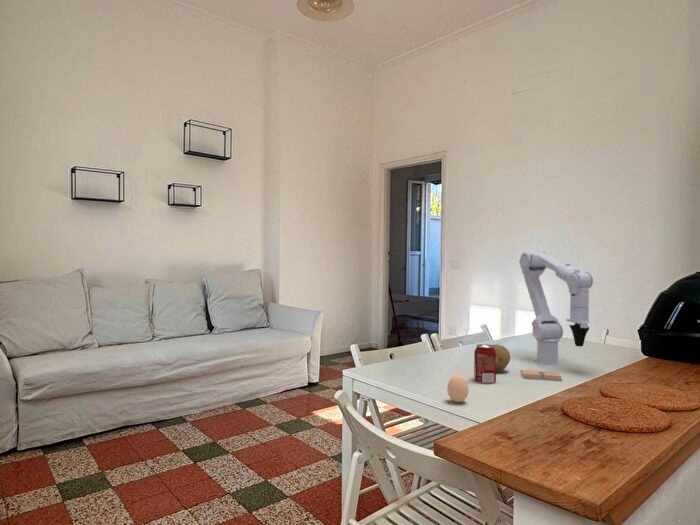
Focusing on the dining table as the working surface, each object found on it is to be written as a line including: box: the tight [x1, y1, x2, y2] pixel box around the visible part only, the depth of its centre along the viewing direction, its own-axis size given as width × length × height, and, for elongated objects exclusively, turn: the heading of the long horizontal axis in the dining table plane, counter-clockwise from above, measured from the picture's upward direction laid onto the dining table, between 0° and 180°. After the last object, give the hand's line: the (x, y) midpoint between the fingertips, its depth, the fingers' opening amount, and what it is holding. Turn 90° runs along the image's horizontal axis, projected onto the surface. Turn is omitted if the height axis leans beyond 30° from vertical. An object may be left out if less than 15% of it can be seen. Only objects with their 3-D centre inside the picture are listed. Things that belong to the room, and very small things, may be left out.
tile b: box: [541, 370, 562, 382], centre depth 152 cm, size 2×5×6 cm
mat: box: [519, 369, 564, 382], centre depth 155 cm, size 12×12×1 cm
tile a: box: [521, 369, 540, 380], centre depth 154 cm, size 2×5×6 cm
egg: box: [446, 374, 469, 403], centre depth 127 cm, size 6×6×8 cm
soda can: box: [473, 343, 497, 385], centre depth 148 cm, size 7×7×12 cm
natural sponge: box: [492, 344, 511, 373], centre depth 161 cm, size 9×9×10 cm
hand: (579, 345), depth 159 cm, fingers closed
